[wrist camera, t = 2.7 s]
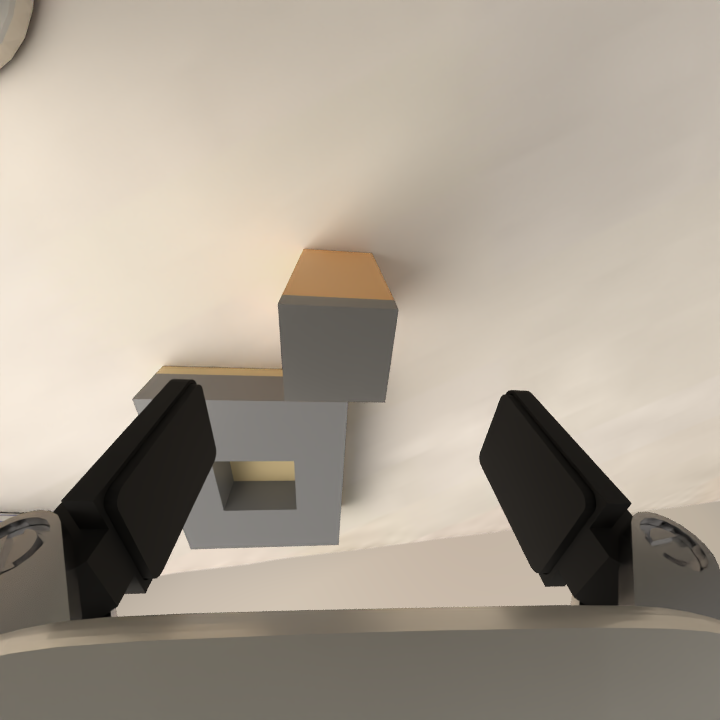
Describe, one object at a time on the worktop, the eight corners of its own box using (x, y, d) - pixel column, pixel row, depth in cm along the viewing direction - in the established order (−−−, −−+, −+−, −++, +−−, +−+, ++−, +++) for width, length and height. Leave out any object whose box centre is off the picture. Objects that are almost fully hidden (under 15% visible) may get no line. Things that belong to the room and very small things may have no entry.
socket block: (162, 366, 23) (132, 399, 20) (346, 370, 24) (348, 402, 21) (206, 509, 32) (190, 549, 29) (338, 507, 33) (338, 544, 30)
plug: (303, 248, 19) (277, 303, 11) (371, 253, 20) (398, 309, 11) (305, 313, 22) (284, 400, 13) (366, 315, 22) (385, 402, 13)
